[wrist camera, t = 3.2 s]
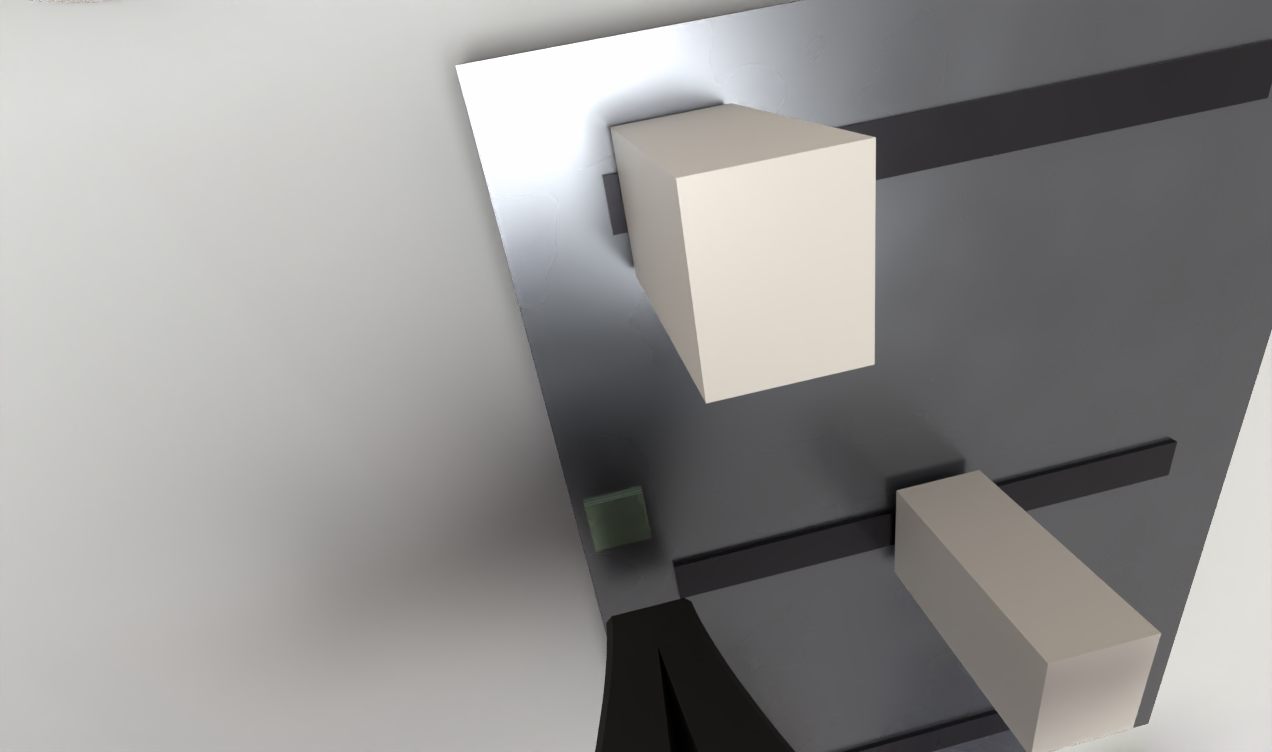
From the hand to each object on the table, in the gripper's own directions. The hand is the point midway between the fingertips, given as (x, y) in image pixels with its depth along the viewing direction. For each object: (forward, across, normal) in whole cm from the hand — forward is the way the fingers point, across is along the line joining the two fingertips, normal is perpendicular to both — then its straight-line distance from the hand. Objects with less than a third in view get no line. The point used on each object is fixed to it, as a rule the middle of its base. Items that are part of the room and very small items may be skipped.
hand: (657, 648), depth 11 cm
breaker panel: (+3, -6, 0) cm, 6 cm away
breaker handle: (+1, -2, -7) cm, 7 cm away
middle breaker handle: (+1, -6, 0) cm, 6 cm away
